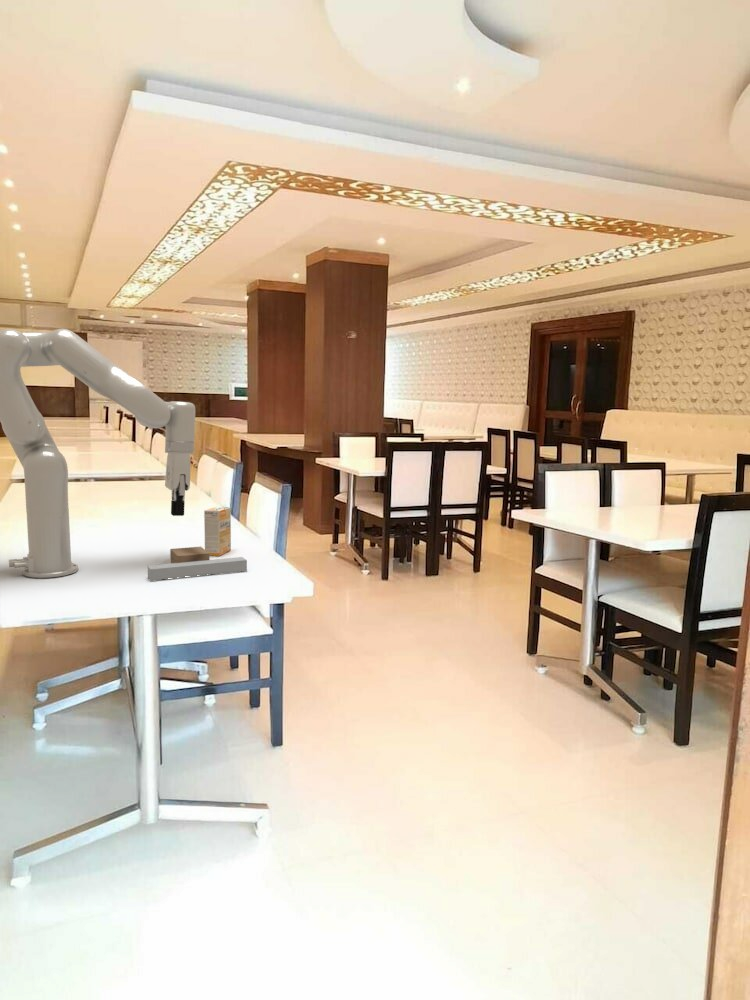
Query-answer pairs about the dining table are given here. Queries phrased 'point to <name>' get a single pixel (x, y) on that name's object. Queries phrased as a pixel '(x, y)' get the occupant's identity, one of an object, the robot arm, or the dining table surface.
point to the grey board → (197, 568)
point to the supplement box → (217, 530)
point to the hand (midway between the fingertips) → (177, 515)
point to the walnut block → (188, 554)
